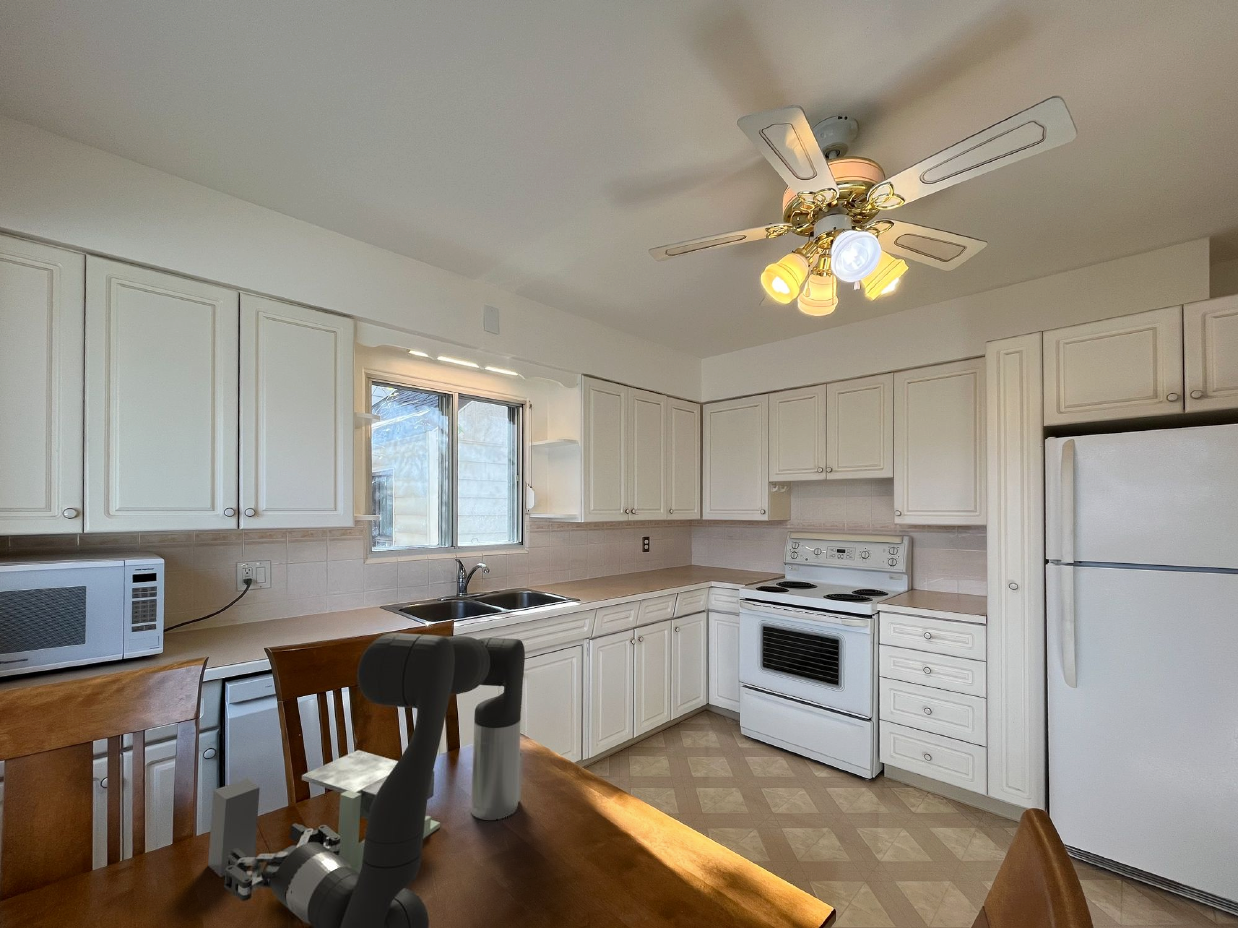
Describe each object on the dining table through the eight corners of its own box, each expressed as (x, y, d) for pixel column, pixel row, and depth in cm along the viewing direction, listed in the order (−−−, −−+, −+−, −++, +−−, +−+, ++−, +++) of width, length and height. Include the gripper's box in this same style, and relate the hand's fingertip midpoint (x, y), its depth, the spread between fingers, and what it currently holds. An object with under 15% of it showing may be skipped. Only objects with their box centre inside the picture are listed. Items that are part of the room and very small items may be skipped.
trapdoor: (381, 827, 93) (383, 799, 93) (299, 798, 101) (301, 773, 102) (436, 794, 104) (437, 769, 104) (357, 770, 112) (359, 747, 113)
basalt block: (208, 865, 94) (213, 789, 95) (241, 850, 98) (246, 778, 99) (220, 876, 91) (226, 799, 92) (254, 861, 95) (259, 787, 96)
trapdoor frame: (359, 883, 90) (363, 805, 91) (325, 868, 93) (329, 794, 94) (439, 826, 106) (442, 761, 107) (408, 816, 110) (410, 753, 111)
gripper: (365, 832, 86) (311, 798, 95) (262, 881, 74) (212, 838, 83) (362, 884, 85) (308, 845, 94) (258, 942, 73) (208, 891, 83)
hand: (263, 842), depth 89 cm, fingers open, 8 cm apart
